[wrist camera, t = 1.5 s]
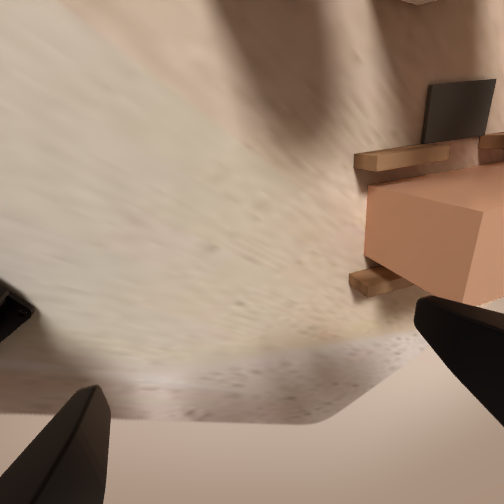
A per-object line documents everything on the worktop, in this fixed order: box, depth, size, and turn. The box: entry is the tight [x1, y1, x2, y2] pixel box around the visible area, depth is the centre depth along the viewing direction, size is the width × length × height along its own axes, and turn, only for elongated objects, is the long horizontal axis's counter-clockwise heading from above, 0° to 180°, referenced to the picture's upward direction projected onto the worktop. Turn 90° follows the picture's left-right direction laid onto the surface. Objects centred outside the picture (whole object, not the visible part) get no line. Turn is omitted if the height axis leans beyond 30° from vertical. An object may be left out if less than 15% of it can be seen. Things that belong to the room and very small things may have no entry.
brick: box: [364, 161, 504, 306], centre depth 21 cm, size 15×6×9 cm, turn 96°
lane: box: [349, 79, 504, 298], centre depth 24 cm, size 26×19×3 cm
